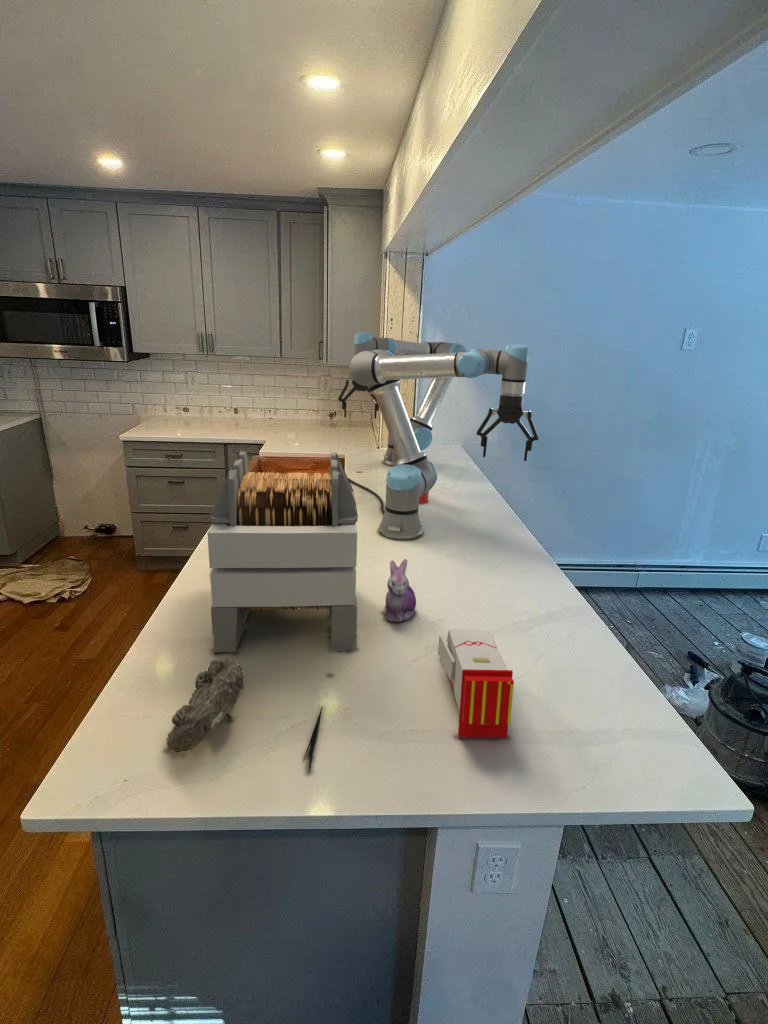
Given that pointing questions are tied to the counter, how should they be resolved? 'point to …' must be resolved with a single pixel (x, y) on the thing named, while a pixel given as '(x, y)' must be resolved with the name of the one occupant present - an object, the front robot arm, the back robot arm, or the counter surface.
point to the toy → (478, 682)
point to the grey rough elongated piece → (206, 705)
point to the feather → (313, 740)
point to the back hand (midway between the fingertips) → (360, 417)
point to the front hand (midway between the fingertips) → (504, 458)
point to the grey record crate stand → (283, 549)
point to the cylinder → (423, 498)
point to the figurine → (399, 594)
